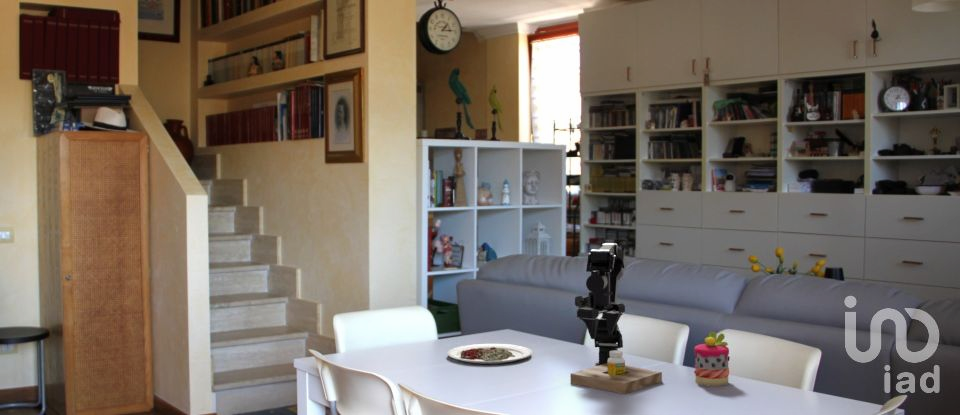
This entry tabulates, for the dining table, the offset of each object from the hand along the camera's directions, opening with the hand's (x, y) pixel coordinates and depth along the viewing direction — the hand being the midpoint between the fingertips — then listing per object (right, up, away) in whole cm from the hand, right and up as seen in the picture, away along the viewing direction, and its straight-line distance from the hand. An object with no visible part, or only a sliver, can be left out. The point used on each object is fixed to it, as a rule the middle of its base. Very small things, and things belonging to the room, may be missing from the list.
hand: (601, 337), depth 280 cm
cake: (+32, -12, -13) cm, 37 cm away
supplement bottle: (+3, -13, -11) cm, 17 cm away
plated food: (-36, -12, +30) cm, 48 cm away
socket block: (+3, -12, -11) cm, 17 cm away
